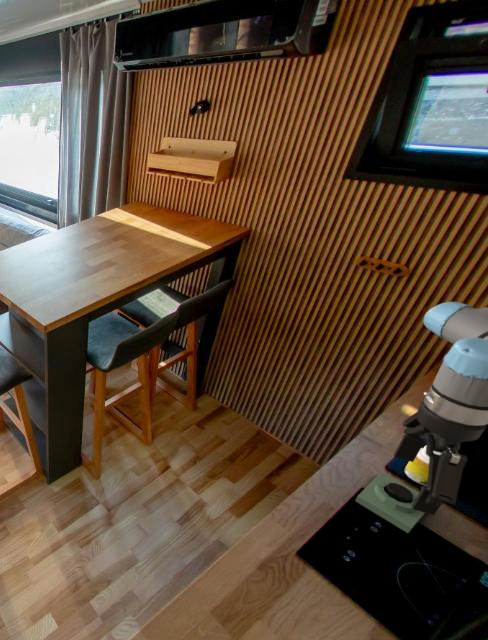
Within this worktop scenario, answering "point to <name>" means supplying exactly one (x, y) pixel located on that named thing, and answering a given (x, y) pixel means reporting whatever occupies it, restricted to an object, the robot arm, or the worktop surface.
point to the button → (399, 492)
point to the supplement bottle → (419, 467)
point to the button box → (389, 503)
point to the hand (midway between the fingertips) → (412, 482)
